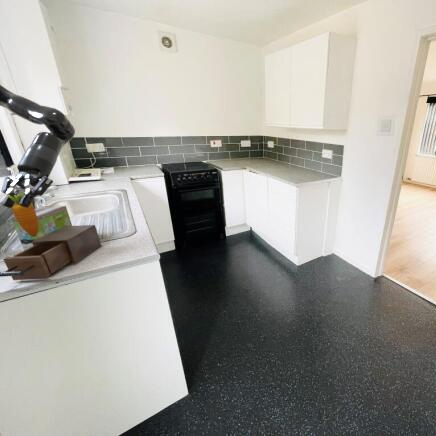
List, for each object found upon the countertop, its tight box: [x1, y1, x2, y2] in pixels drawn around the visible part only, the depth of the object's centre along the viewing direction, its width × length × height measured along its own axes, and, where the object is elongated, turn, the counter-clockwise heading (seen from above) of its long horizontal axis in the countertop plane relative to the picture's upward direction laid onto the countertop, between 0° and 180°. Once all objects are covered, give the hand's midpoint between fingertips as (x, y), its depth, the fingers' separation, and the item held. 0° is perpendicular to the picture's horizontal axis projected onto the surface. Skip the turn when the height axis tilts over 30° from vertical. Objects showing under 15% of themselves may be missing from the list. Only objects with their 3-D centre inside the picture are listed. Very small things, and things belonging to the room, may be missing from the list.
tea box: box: [11, 205, 73, 251], centre depth 103 cm, size 15×10×15 cm
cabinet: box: [32, 224, 102, 265], centre depth 93 cm, size 15×12×10 cm
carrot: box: [6, 191, 38, 237], centre depth 77 cm, size 5×5×15 cm
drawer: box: [0, 242, 72, 281], centre depth 81 cm, size 18×10×8 cm, turn 4°
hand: (15, 206), depth 74 cm, fingers closed on carrot, 4 cm apart
